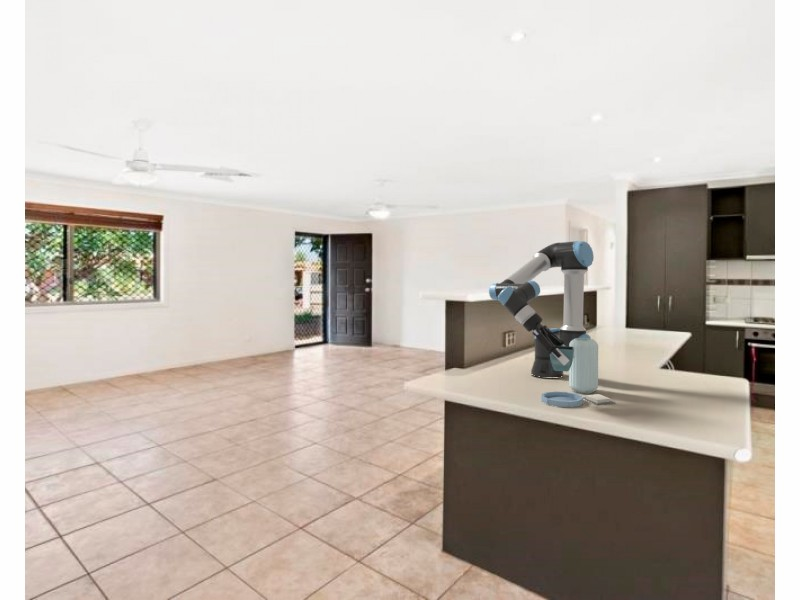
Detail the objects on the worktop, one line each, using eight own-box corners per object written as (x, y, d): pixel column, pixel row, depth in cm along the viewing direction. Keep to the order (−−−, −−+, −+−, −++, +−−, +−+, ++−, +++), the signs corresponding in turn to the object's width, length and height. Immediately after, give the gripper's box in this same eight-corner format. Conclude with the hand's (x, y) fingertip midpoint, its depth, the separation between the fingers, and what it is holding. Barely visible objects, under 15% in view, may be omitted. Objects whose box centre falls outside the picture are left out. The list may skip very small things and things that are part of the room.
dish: (534, 398, 192) (534, 393, 191) (567, 395, 195) (567, 390, 195) (555, 408, 177) (555, 402, 177) (591, 405, 180) (591, 399, 180)
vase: (584, 395, 194) (584, 342, 193) (563, 390, 204) (563, 338, 203) (604, 392, 199) (604, 339, 198) (582, 386, 210) (582, 336, 208)
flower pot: (573, 368, 188) (573, 346, 188) (573, 373, 180) (573, 349, 179) (550, 367, 191) (550, 345, 190) (549, 372, 183) (549, 348, 182)
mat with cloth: (581, 398, 190) (581, 394, 190) (598, 396, 192) (598, 393, 192) (597, 405, 181) (597, 401, 181) (615, 403, 183) (615, 399, 182)
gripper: (530, 322, 202) (568, 362, 195) (513, 328, 183) (555, 372, 175) (543, 310, 199) (582, 350, 191) (527, 314, 180) (570, 359, 172)
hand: (569, 360), depth 183 cm, fingers closed on flower pot, 10 cm apart
